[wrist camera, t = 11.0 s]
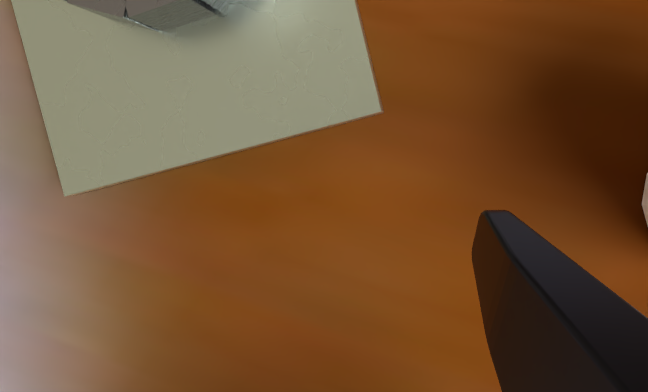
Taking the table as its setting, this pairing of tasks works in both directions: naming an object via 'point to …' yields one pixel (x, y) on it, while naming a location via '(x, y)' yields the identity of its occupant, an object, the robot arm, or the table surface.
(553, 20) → the table surface
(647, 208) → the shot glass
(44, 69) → the grey ring base plate
